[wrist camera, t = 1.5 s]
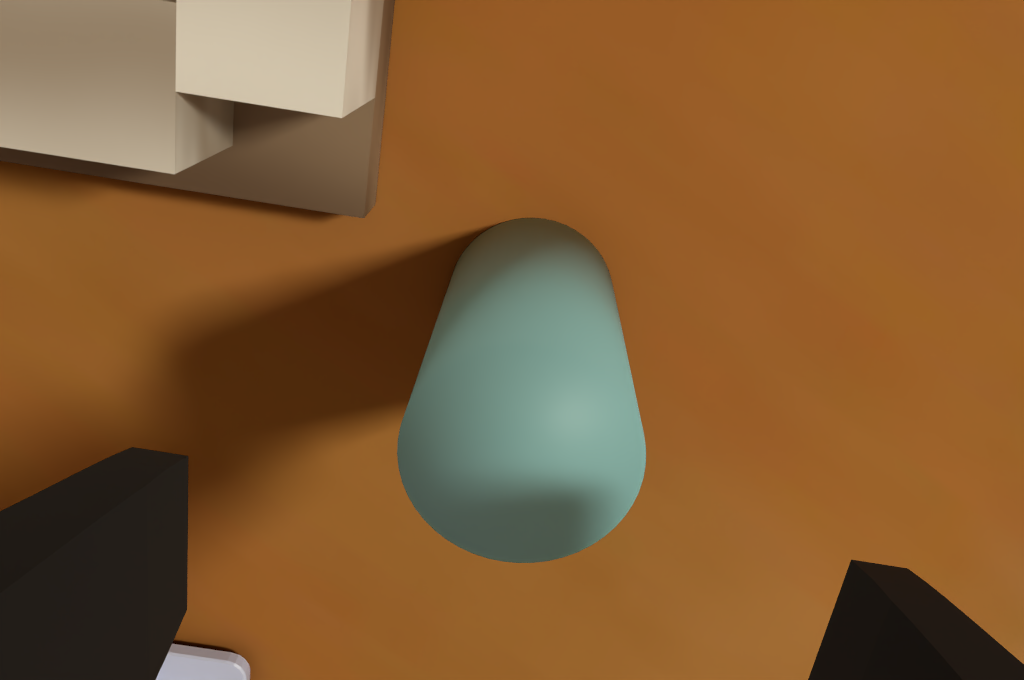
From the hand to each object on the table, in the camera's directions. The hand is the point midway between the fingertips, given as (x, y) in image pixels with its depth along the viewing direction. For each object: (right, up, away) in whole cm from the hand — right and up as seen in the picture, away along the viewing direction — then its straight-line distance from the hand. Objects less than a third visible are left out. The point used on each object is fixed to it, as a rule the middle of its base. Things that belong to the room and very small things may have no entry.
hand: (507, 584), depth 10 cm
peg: (0, +4, +9) cm, 10 cm away
